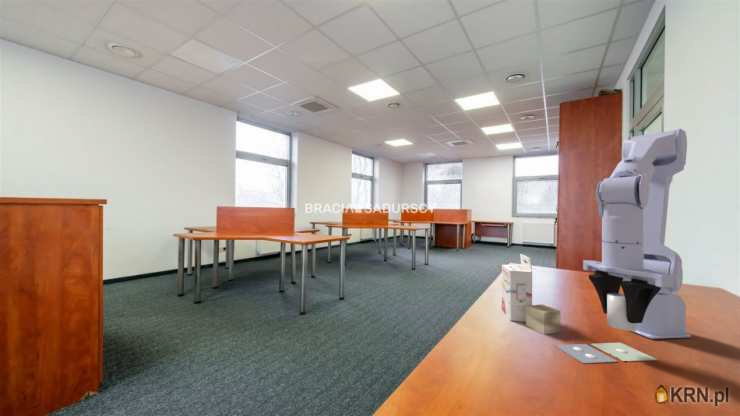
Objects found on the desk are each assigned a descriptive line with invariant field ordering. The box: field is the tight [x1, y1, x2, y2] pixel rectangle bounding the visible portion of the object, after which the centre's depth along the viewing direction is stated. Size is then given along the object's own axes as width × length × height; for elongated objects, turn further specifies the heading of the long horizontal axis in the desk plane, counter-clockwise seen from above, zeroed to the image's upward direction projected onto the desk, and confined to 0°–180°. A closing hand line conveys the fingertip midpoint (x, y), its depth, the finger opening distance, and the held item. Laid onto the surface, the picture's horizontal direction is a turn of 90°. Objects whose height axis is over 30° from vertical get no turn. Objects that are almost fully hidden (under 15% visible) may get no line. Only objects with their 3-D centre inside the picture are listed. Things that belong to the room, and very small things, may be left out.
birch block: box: [525, 304, 562, 335], centre depth 62 cm, size 4×4×4 cm
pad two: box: [553, 343, 618, 364], centre depth 51 cm, size 6×6×1 cm
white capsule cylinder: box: [606, 292, 636, 332], centre depth 52 cm, size 4×4×6 cm
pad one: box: [590, 342, 658, 362], centre depth 52 cm, size 6×6×1 cm
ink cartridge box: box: [501, 253, 533, 323], centre depth 70 cm, size 9×5×15 cm, turn 168°
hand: (621, 317), depth 52 cm, fingers closed on white capsule cylinder, 4 cm apart
